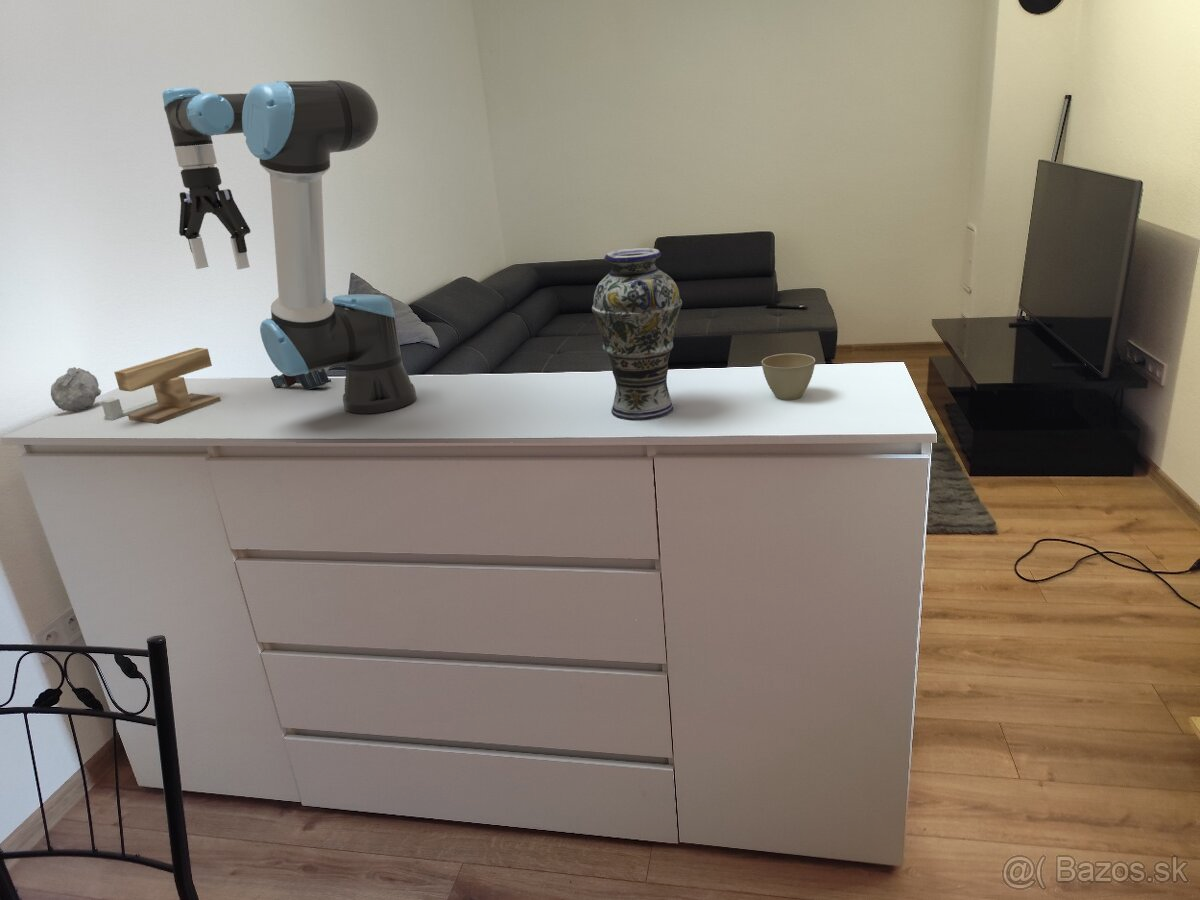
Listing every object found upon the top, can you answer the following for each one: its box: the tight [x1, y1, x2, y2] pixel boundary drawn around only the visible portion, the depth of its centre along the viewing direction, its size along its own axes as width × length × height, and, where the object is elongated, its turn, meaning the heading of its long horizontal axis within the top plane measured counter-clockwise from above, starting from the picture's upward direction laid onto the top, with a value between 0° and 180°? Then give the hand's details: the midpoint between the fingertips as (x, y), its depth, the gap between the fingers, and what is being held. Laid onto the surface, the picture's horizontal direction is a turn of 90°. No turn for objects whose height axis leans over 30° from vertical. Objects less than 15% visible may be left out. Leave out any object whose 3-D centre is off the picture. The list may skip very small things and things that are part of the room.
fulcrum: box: [127, 376, 222, 424], centre depth 189 cm, size 10×16×8 cm, turn 151°
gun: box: [270, 368, 332, 391], centre depth 197 cm, size 3×17×15 cm
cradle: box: [100, 397, 158, 421], centre depth 194 cm, size 3×19×4 cm, turn 151°
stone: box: [50, 367, 102, 412], centre depth 195 cm, size 9×7×10 cm
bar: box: [114, 347, 213, 392], centre depth 187 cm, size 4×20×4 cm, turn 152°
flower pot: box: [761, 353, 816, 401], centre depth 164 cm, size 10×10×7 cm
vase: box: [591, 247, 683, 421], centre depth 159 cm, size 17×17×30 cm
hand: (222, 268), depth 189 cm, fingers open, 13 cm apart
